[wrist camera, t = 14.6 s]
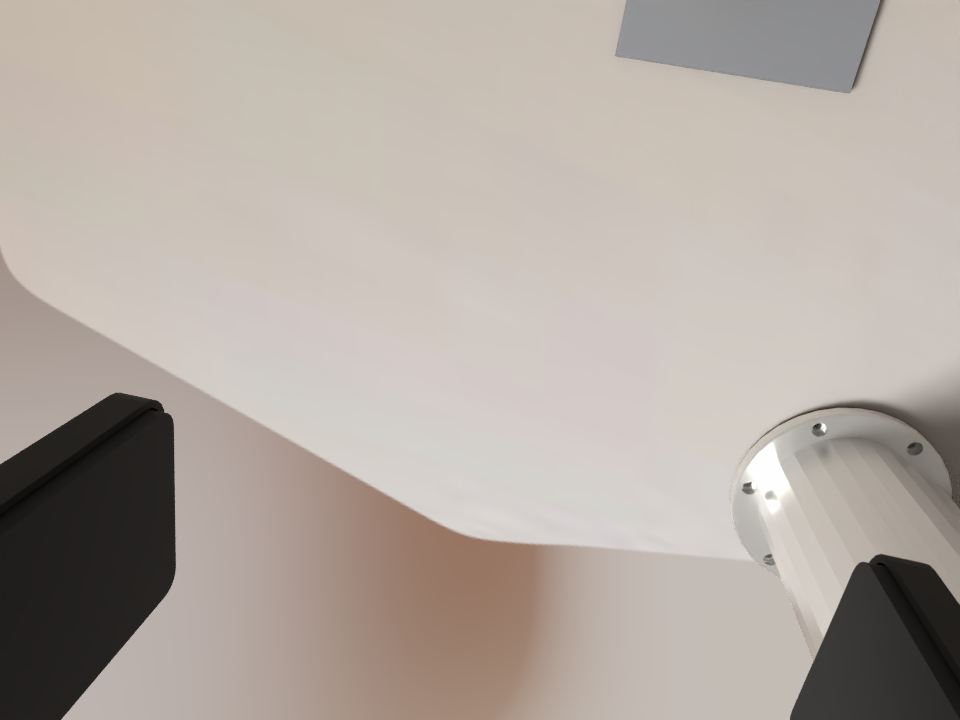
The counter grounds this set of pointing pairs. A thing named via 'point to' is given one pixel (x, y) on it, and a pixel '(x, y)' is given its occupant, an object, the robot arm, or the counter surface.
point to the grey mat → (753, 37)
